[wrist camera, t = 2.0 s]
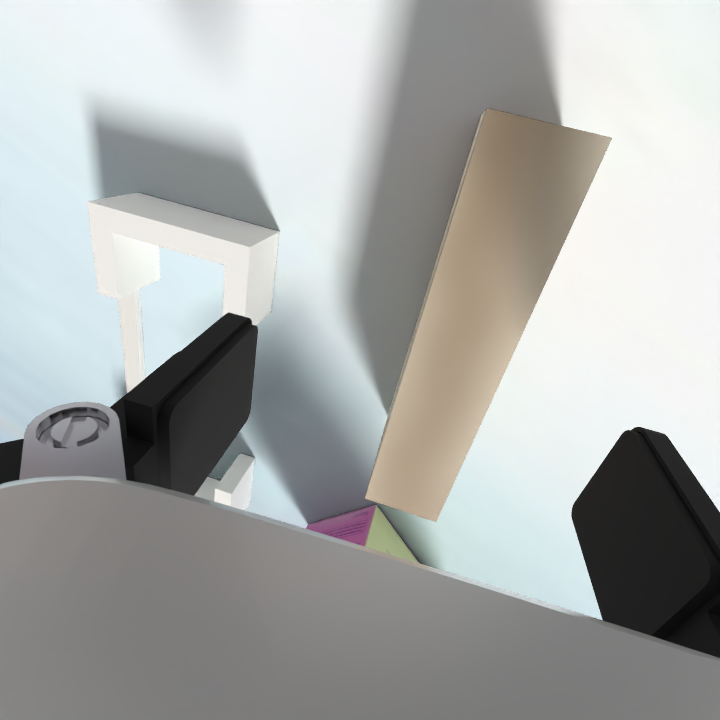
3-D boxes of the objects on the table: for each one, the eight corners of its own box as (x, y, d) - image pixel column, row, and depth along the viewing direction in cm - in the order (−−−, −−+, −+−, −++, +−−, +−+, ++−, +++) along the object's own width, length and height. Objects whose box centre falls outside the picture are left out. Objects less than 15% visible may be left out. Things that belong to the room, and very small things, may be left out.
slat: (562, 136, 15) (612, 137, 10) (443, 431, 22) (436, 521, 17) (480, 116, 15) (487, 107, 10) (388, 414, 22) (364, 498, 17)
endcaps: (279, 231, 19) (249, 247, 16) (250, 501, 28) (228, 539, 25) (114, 185, 20) (60, 194, 17) (138, 463, 29) (105, 496, 26)
